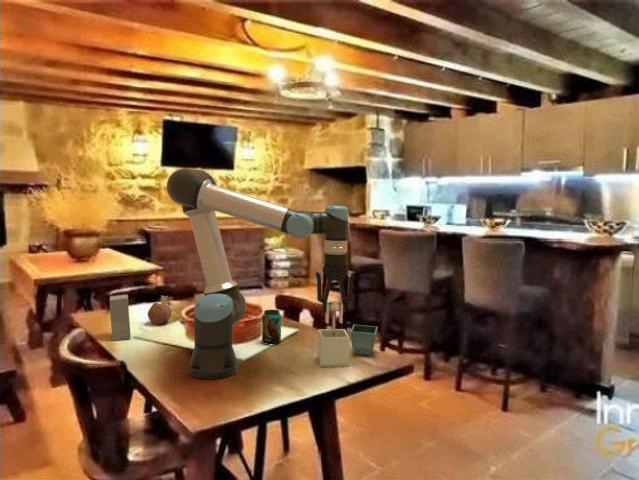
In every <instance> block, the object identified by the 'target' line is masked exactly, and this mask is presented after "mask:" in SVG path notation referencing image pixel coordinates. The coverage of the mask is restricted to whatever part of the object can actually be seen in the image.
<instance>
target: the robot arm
mask: <svg viewBox="0 0 639 480" xmlns="http://www.w3.org/2000/svg"><path fill="white" fill-rule="evenodd" d="M166 192H167V194H168V197H169V198H170V200H172V201H173V202H174V203H176V204H178V205H181V209H182V213H183V215H185V216H187V217H188V218H189V221H190V224H191V228H192V233H193V236H194V241H195V245H196V248H197V253H198V256H199V261H200V264H201V265H200V266H201V268H202V272H203V276H204V280H205V284H206V287H205V289H204V291H203V294H204V295H202V296H200V297H199V298H196V300H195V302H194V309H193V315H194V316H193V317H194V318H193V319H194V326H193V327H194V328H193V330H194V331H193V332H194V336H193V337H194V348H193V351H192V354H191V357H190V360H189V363H188V374H189V375H190V376H191V377H193V378H196V379H202V380H218V379H224V378H228V377H230V376H233V375H234V374H236V373H237V371H238V369H239V368H238V367H239V365H238V364H239V363H238V359H237V356H236V353H235V349H234V347H233V327H234V326H235V325H236V324H237V323H239V322H240V321H241V320H242V319H243V317H244V315H245V312H246V310H247V301H246V298H245V296H244V295H243V293H242V292H241V291H240V289H239V285H238V282H236V281H234V280H233V278H232V274H231V270H230V267H229V263H228V259H227V254H226V250H225V246H224V243H223V239H222V235H221V230H220V227H219V224H218V218H217V215H216V212H218V213H221V214H225V215H227V216H230V217H234V218H236V219H240V220H243V221H245V222H249V223H253V224H255V225H258V226H259V225H260V226H262V227H265V228H268V229H271V230H275V231H278V232H280V233H284V234H286V235H289V236H291V237H292V238H294V239H298V240H302V239H303V240H304V239H306V238H308V237H309V236H310V235H324V252H325V253H324V255H323V256H324V258H323V259H324V260H323V261H324V262H323V267H322V269H321V270H316V271H315V272H314V275H315V277H316V296H317V297H316V300H317V301H318V302H319V303H322V309H321V310H322V313H323V314H325V315H324V316H325V317H324V319H325V321H324V322H325V323H326V324H329V323H330V321H329V319H330V311H329V303H328V302H329V301H328V300H329V294H330V291H331V286H332V284H333V282H338V287H339V293H340V298H341V301H339V302H340V311H338V322H339V323H340V324H343V318H344V317H343V315H344V314H345V313H346V312H347V303H349V302H350V303H351V302H352V301H353V291H354V290H353V289H354V279H355V276H356V272H354V271H351V270H349V268H348V265H347V264H348V254H347V253H348V236H349V235H348V234H349V233H348V232H349V209H348V207H347V206H343V205H327V206H325V209H324V211H314V210H313V211H311V210H309V211H308V210H295V209H291V208H289V207H286V206H283V205H279V204H276V203H272V202H270V201H266V200H263V199H260V198H257V197H254V196H250V195H249V194H248V195H247V194H245V193H242V192H238V191H235V190H231V189H228V188H226V187H223V186H220V185H217V181H216V180H215V178H214V177H213V176H212V175H211V174H210V173H208V172H207V171H205V170H202V169H197V168H196V169H191V168H180V169H177V170H175V171H174V172H173V173H171V174H170V176H169V177H168V179H167V181H166ZM323 274H324V275H323ZM346 275H347V277H348V278H347V292H345V285H344V278H345V277H346ZM323 276H325V277H326V283H325V288H324V292H323V291H322V289H323V288H322V277H323ZM322 292H323V294H322ZM346 294H347V295H346ZM322 295H323V296H322Z"/></svg>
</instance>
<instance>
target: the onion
mask: <svg viewBox="0 0 639 480" xmlns="http://www.w3.org/2000/svg"><path fill="white" fill-rule="evenodd" d="M170 307H171V306H168V304H167V305H166V304H161V303H159V302H153V304H152V305H151V306H150V307H149V309H148V311H147V318H148V320H149V322H151V324H154V325H160V326H162V325H165V324H166V323H168V322H169V320H170V319H171V317H172V309H171V308H170Z"/></svg>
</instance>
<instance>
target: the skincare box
mask: <svg viewBox="0 0 639 480" xmlns="http://www.w3.org/2000/svg"><path fill="white" fill-rule="evenodd" d="M109 311H110V312H109V313H110V325H111V337H112V338H111V339H112V341H121V340H122V341H123V340H124V341H125V340H131V325H130V324H131V322H130V311H129V295H128V294H119V295H110V296H109Z"/></svg>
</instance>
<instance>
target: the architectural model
mask: <svg viewBox="0 0 639 480" xmlns="http://www.w3.org/2000/svg"><path fill="white" fill-rule="evenodd" d="M160 297H161V299H160V301H161V303H160V304H166V305H168V306H169V307H175V306H176V305H175V304H173V303H171V302H170V300H168V299H169V298H168V297H169V296H168V295H167V296H166V295H165V296H164V295H161V296H160Z"/></svg>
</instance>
